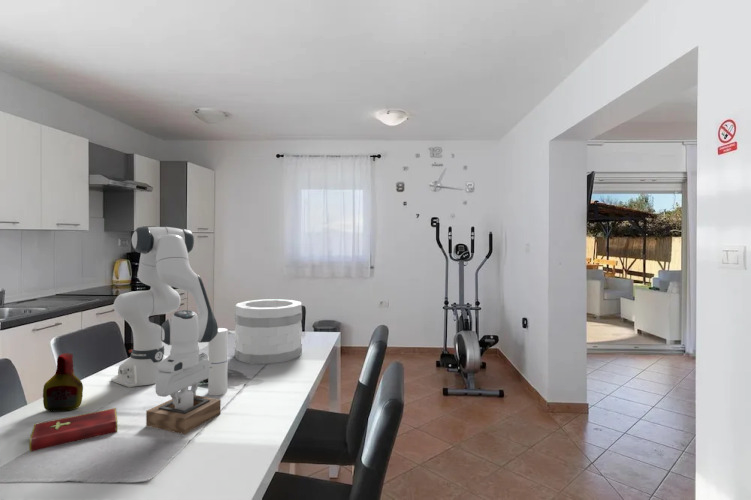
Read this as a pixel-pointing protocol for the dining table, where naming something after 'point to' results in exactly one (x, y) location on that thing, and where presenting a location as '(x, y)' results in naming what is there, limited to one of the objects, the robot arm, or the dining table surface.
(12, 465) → the dining table surface
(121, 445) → the dining table surface
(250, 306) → the storage basket
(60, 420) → the hardcover book
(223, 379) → the cylindrical container
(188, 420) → the socket block
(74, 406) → the bottle
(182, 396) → the eye dropper bottle
